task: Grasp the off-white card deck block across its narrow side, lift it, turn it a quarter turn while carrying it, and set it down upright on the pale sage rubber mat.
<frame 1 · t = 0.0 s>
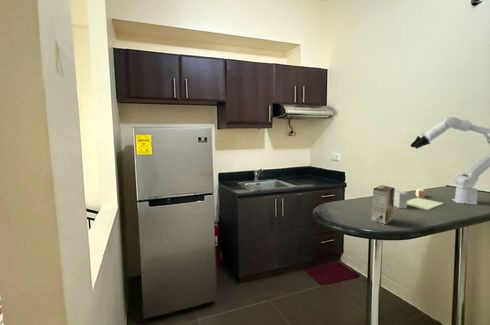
hand: (413, 146, 156), 32 cm above the table, tool tilted 50°, fingers open, 7 cm apart
coffee box: (381, 221, 121), on the table
card deck: (420, 196, 164), on the table
sage mat: (421, 203, 148), on the table
medicine box: (398, 206, 143), on the table
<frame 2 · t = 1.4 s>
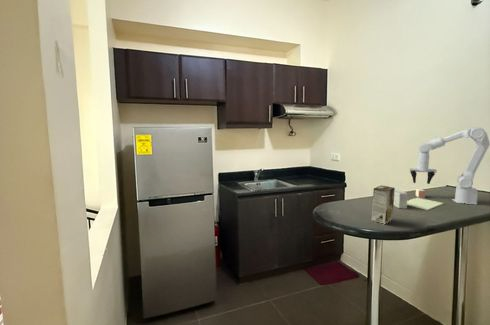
hand: (421, 183, 163), 9 cm above the table, tool pointing down, fingers open, 7 cm apart
nothing on the table moved.
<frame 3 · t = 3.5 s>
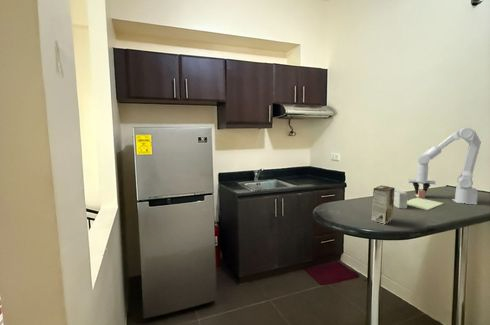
hand: (420, 194, 164), 1 cm above the table, tool pointing down, fingers closed on card deck, 3 cm apart
card deck: (420, 196, 164), on the table, touching gripper
everything else where it was.
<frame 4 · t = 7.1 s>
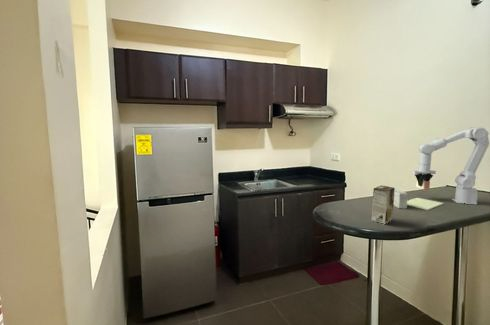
hand: (422, 185, 158), 8 cm above the table, tool pointing down, fingers closed on card deck, 3 cm apart
card deck: (422, 187, 158), point 7 cm above the table, touching gripper
everything else where it was.
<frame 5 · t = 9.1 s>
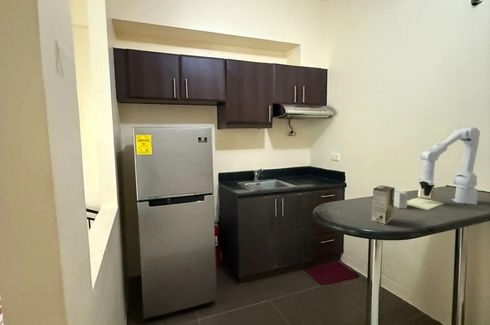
hand: (425, 194, 149), 5 cm above the table, tool pointing down, fingers closed on card deck, 3 cm apart
card deck: (425, 197, 149), point 4 cm above the table, touching gripper
everything else where it was.
when the fingers open (3 cm above the table, at t = 10.6 s): card deck stays where it is, resting on sage mat.
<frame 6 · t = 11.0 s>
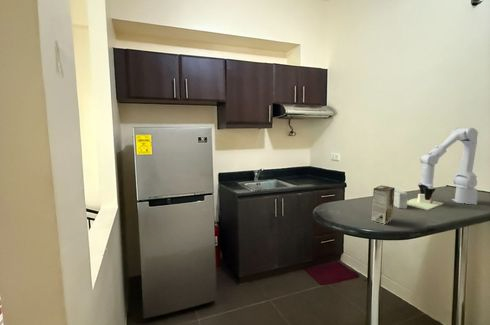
hand: (425, 198, 149), 3 cm above the table, tool pointing down, fingers open, 6 cm apart
card deck: (424, 202, 149), point 1 cm above the table, touching sage mat
everything else where it was.
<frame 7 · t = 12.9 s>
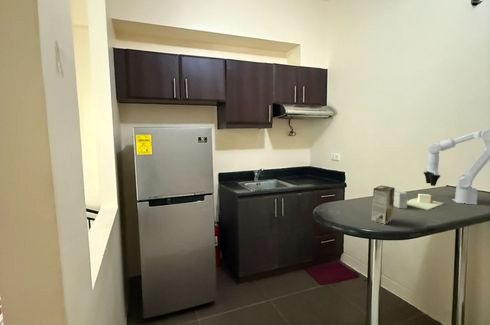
hand: (430, 184, 161), 8 cm above the table, tool pointing down, fingers open, 7 cm apart
nothing on the table moved.
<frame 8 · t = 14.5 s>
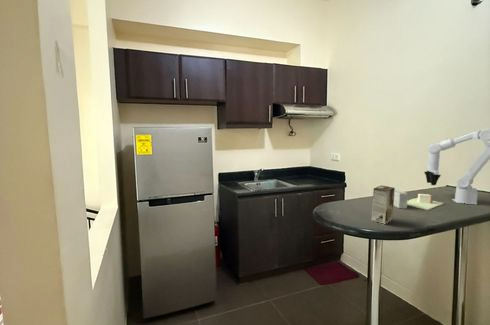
hand: (431, 183, 163), 8 cm above the table, tool pointing down, fingers open, 7 cm apart
nothing on the table moved.
at the end: card deck inside the target area on the sage mat (2.8 cm from its centre), point 0.6 cm above the sage mat's base; card deck tilted 0°; the gripper is holding nothing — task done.
